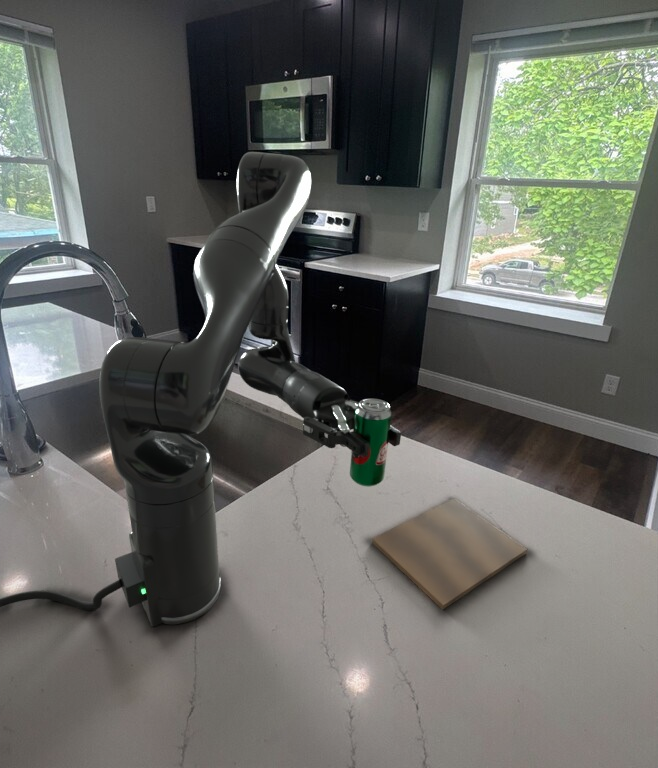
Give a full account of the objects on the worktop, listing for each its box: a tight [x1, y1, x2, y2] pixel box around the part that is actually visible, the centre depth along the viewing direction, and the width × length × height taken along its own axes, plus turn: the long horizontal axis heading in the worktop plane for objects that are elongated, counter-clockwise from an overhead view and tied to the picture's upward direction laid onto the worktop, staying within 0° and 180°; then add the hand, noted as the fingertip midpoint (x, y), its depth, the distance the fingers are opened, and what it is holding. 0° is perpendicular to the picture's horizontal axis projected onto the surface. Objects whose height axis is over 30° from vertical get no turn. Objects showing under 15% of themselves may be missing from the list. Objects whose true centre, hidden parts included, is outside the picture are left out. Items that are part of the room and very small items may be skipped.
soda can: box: [349, 398, 393, 488], centre depth 66 cm, size 5×5×12 cm
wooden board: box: [371, 498, 528, 611], centre depth 68 cm, size 18×14×1 cm
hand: (383, 445), depth 64 cm, fingers closed on soda can, 5 cm apart
